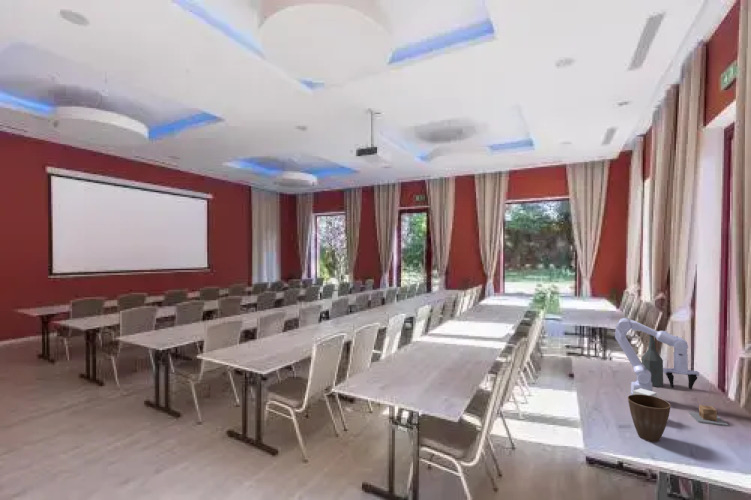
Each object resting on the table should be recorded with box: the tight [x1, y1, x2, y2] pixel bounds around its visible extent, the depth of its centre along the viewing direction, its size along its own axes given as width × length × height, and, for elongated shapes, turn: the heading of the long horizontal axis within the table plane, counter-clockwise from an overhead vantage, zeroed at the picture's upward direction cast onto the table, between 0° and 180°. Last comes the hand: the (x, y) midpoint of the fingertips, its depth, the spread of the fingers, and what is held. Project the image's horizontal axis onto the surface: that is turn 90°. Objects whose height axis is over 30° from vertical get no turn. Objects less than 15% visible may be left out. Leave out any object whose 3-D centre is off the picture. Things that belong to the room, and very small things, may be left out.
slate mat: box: [688, 411, 729, 427], centre depth 178 cm, size 11×11×1 cm
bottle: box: [641, 334, 664, 388], centre depth 225 cm, size 10×10×30 cm
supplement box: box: [633, 388, 658, 398], centre depth 181 cm, size 7×7×13 cm
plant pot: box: [627, 394, 671, 443], centre depth 161 cm, size 15×15×16 cm
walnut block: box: [698, 404, 718, 421], centre depth 178 cm, size 5×5×5 cm
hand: (681, 388), depth 193 cm, fingers open, 7 cm apart
